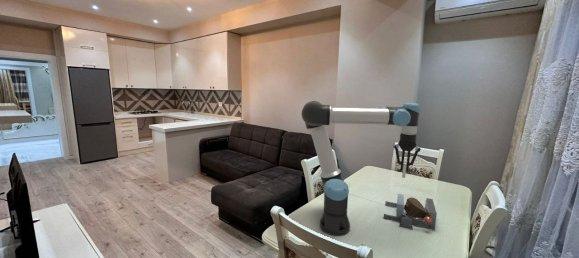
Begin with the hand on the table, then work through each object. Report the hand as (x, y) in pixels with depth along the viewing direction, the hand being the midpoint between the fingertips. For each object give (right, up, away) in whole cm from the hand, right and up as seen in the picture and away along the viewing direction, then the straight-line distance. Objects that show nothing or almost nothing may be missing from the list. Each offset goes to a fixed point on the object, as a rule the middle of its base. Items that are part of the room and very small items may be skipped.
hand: (403, 176), depth 125 cm
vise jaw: (+1, -23, +7) cm, 24 cm away
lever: (-1, -20, -5) cm, 21 cm away
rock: (+7, -24, +4) cm, 25 cm away
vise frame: (+4, -23, +3) cm, 24 cm away
